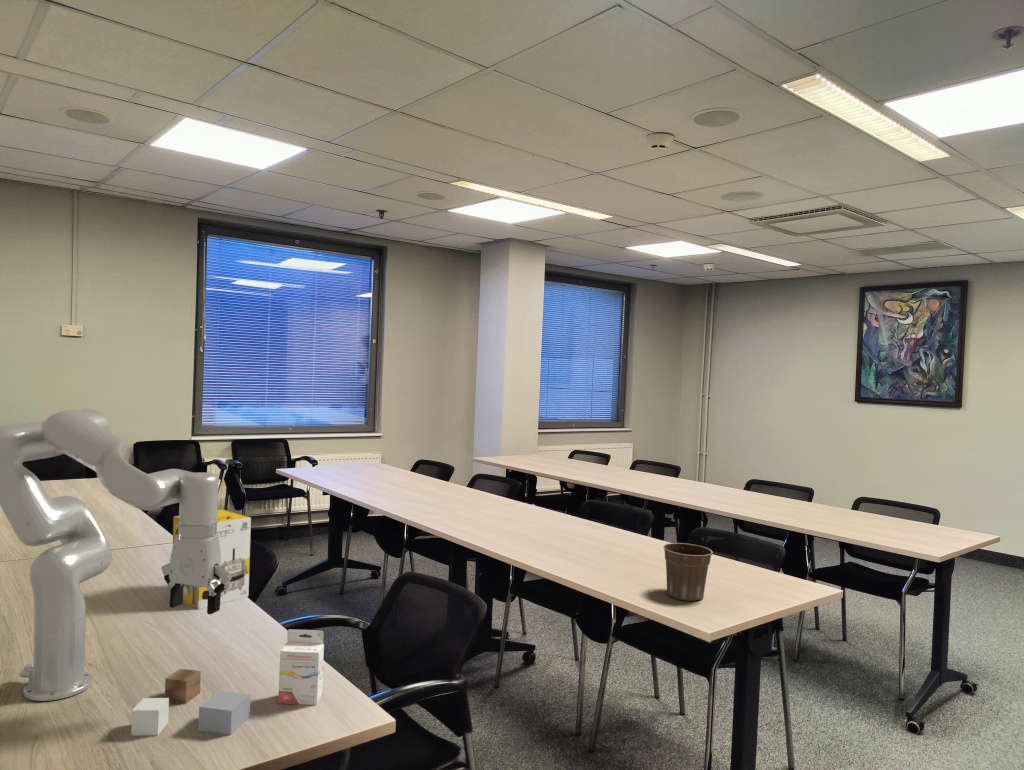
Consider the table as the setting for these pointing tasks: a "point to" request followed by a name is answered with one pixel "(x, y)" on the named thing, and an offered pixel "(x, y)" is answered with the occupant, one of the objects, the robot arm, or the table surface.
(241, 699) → the slate base block
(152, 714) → the pale grey cube
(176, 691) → the walnut cube
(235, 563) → the packaging box
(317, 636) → the ink cartridge box
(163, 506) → the robot arm
